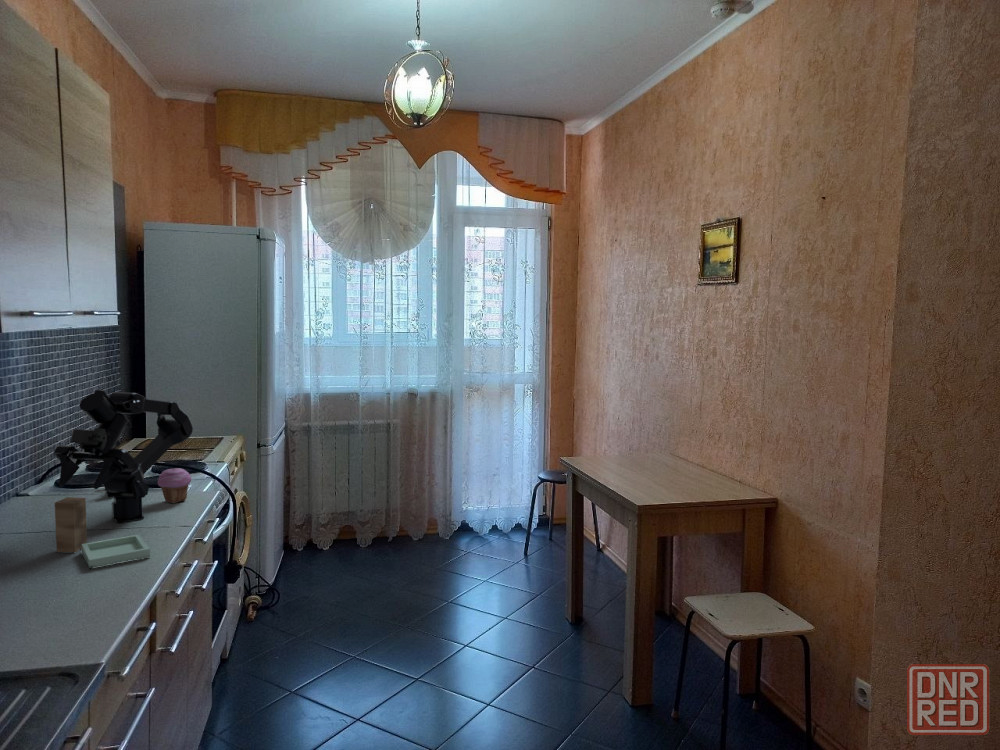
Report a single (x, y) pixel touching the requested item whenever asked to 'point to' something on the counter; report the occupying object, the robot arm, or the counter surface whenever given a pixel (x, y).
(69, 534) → the tan wooden block
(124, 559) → the tray
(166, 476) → the cupcake
